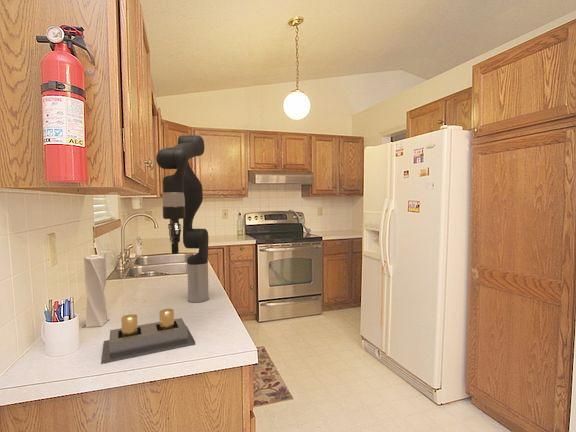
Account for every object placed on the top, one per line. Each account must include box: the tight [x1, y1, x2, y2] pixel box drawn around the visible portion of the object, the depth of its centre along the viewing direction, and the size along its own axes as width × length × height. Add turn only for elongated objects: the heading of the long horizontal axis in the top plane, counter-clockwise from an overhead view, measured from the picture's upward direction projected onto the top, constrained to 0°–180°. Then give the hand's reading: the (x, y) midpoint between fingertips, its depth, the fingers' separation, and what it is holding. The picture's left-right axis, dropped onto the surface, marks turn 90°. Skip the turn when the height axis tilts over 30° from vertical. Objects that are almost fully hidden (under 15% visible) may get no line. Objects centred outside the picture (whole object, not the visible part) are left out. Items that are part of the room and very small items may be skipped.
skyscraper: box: [81, 250, 110, 329], centre depth 120 cm, size 8×8×28 cm
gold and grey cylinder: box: [159, 308, 175, 331], centre depth 105 cm, size 4×4×9 cm
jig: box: [101, 313, 196, 365], centre depth 103 cm, size 15×26×10 cm, turn 117°
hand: (175, 253), depth 115 cm, fingers closed
